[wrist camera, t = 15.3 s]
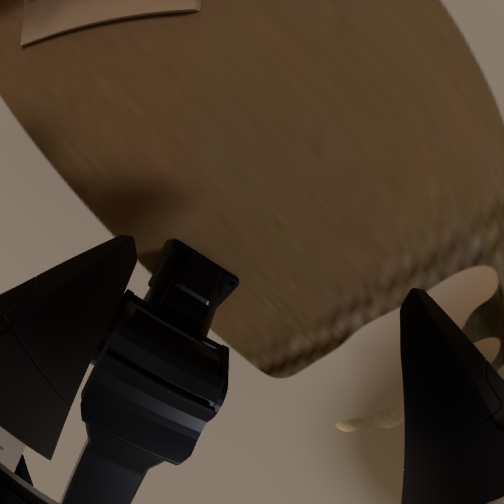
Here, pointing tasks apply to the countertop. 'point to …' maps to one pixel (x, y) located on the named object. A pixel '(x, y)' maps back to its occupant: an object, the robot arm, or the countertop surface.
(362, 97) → the countertop surface
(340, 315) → the countertop surface
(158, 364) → the robot arm
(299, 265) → the countertop surface
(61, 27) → the jig cradle
